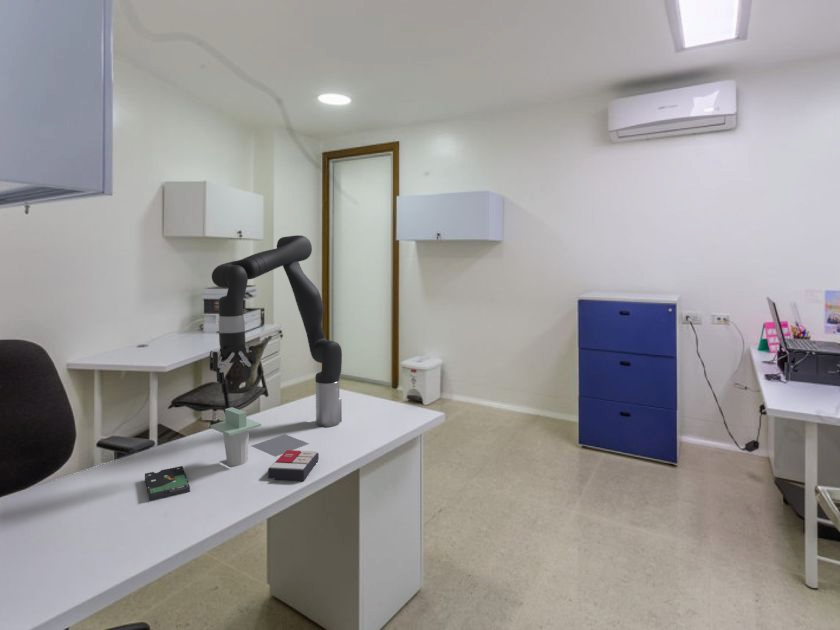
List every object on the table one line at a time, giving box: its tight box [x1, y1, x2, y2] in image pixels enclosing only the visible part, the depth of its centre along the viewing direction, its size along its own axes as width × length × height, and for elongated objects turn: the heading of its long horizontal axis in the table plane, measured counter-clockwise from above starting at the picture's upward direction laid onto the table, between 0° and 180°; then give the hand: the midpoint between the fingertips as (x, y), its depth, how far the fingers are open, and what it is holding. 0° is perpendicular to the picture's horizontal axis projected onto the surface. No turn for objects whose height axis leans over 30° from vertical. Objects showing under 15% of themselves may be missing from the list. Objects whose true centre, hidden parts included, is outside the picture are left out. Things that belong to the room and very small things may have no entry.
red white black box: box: [267, 449, 320, 483], centre depth 150 cm, size 11×4×15 cm
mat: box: [251, 434, 310, 457], centre depth 168 cm, size 14×14×1 cm
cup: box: [222, 430, 250, 468], centre depth 154 cm, size 8×8×12 cm
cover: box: [209, 406, 262, 436], centre depth 153 cm, size 11×11×5 cm
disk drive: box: [144, 465, 191, 502], centre depth 139 cm, size 10×3×15 cm
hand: (234, 381), depth 151 cm, fingers open, 8 cm apart
